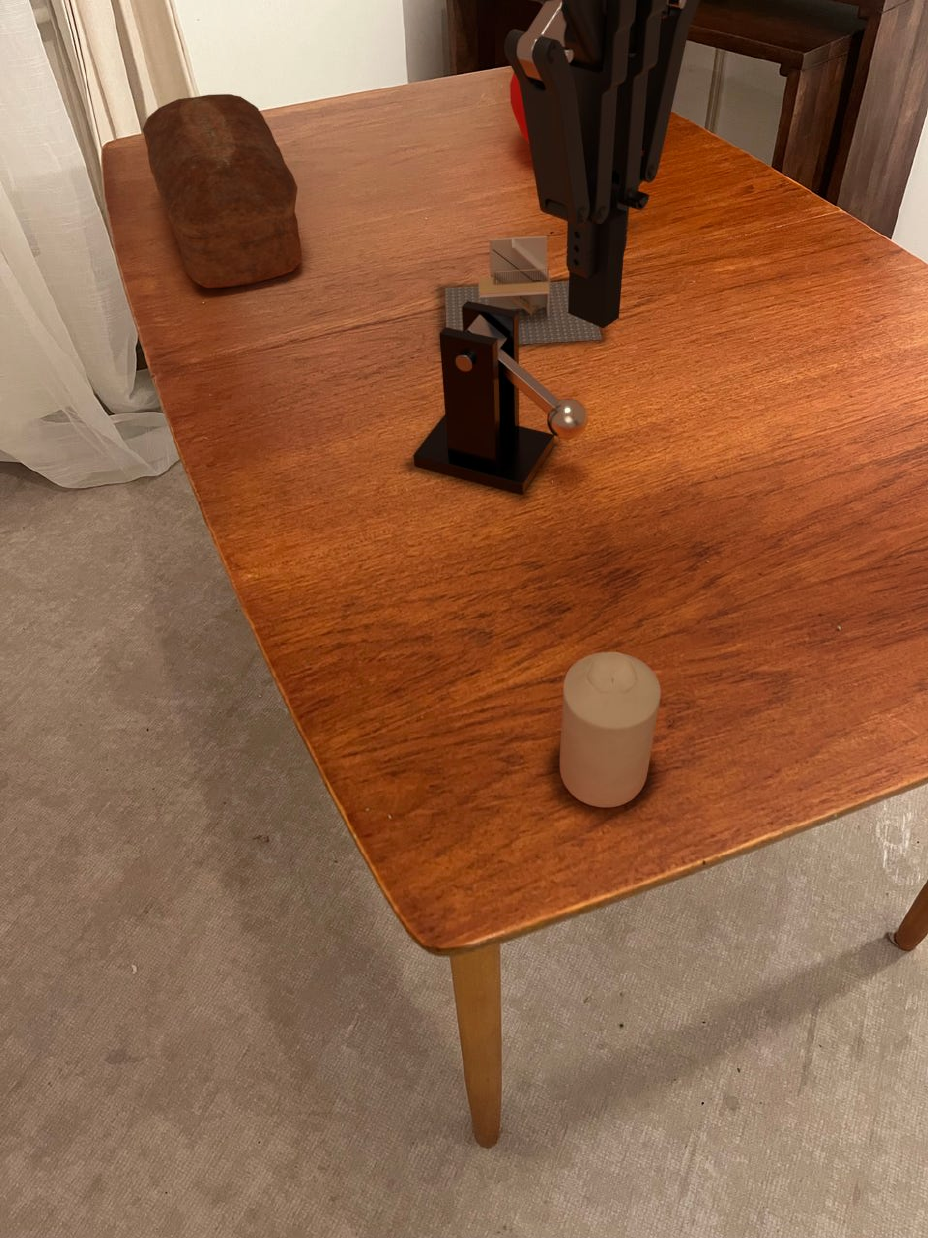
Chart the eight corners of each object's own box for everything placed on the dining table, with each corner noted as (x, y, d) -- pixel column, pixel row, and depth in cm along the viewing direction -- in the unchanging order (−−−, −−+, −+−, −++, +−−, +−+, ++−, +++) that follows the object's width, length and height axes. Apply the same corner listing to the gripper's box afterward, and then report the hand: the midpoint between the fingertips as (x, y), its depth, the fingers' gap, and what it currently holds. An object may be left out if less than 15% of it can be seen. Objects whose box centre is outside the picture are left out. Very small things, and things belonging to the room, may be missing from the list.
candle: (657, 800, 61) (676, 703, 53) (570, 815, 60) (577, 719, 53) (632, 729, 64) (647, 628, 57) (550, 742, 64) (554, 643, 56)
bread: (268, 174, 123) (247, 68, 114) (319, 280, 105) (300, 164, 96) (157, 195, 120) (127, 88, 111) (190, 308, 102) (157, 191, 93)
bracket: (554, 445, 84) (557, 311, 75) (522, 495, 80) (522, 360, 71) (449, 419, 87) (440, 287, 78) (414, 465, 83) (399, 332, 74)
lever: (578, 431, 80) (601, 410, 77) (563, 454, 78) (587, 433, 75) (465, 332, 78) (485, 307, 75) (447, 353, 76) (467, 328, 73)
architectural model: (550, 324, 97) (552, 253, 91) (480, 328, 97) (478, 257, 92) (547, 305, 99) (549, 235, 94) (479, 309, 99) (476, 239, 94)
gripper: (640, -219, 46) (609, 254, 64) (450, -166, 40) (474, 340, 58) (781, -207, 43) (707, 291, 60) (595, -147, 37) (574, 387, 54)
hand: (593, 315), depth 59 cm, fingers closed
